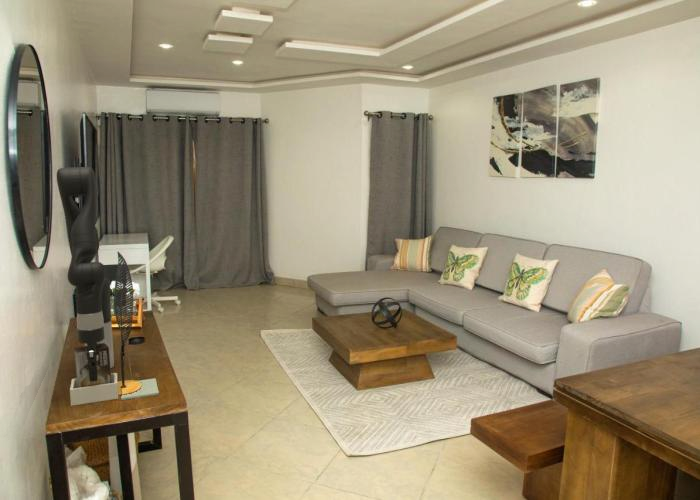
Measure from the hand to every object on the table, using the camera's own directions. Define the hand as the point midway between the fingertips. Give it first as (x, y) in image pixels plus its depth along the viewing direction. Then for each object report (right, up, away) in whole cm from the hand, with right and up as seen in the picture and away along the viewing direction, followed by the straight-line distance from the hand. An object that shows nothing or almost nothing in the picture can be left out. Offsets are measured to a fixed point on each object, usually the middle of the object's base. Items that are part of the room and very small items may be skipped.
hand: (94, 376), depth 168 cm
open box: (0, -6, +1) cm, 6 cm away
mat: (+12, -6, +6) cm, 14 cm away
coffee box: (0, -7, +1) cm, 7 cm away
